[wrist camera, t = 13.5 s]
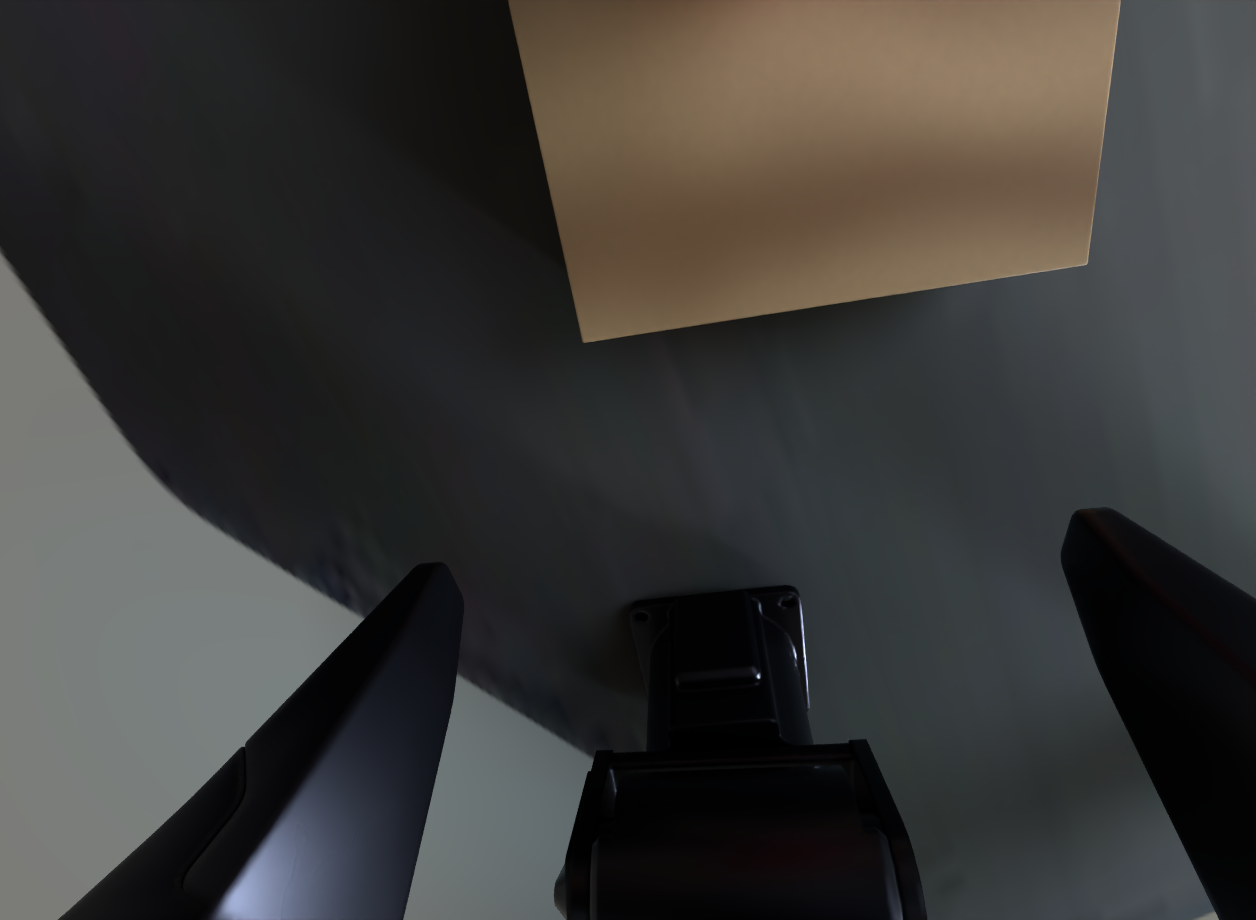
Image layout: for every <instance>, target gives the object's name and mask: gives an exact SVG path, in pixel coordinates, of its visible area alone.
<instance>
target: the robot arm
mask: <svg viewBox="0 0 1256 920" xmlns="http://www.w3.org/2000/svg"><path fill="white" fill-rule="evenodd" d="M1061 563H1062V568H1063V571H1064V574H1065V577H1066V579H1067V582H1068V585H1069V588H1070V591H1071V594H1072V597H1073V600H1074V603H1075V606H1076V608H1077V611H1078V614H1079V617H1080V620H1081V623H1082V626H1083V629H1084V632H1085V635H1086V637H1087V640H1088V643H1089V646H1090V649H1091V652H1092V655H1093V657H1094V660H1095V663H1096V665H1097V668H1098V670H1099V672H1100V674H1101V677H1102V679H1103V681H1104V683H1105V686H1106V688H1107V690H1108V692H1109V694H1110V696H1111V698H1112V700H1113V702H1114V704H1115V706H1116V708H1117V710H1118V712H1119V714H1120V716H1121V718H1122V721H1123V723H1124V725H1125V727H1126V729H1127V731H1128V733H1129V735H1130V737H1131V739H1132V741H1133V743H1134V745H1135V747H1136V749H1137V751H1138V753H1139V756H1140V758H1141V760H1142V762H1143V764H1144V766H1145V768H1146V770H1147V772H1148V774H1149V776H1150V778H1151V780H1152V782H1153V784H1154V786H1155V788H1156V791H1157V793H1158V795H1159V797H1160V799H1161V801H1162V803H1163V805H1164V807H1165V809H1166V811H1167V813H1168V815H1169V817H1170V819H1171V821H1172V823H1173V826H1174V828H1175V830H1176V832H1177V834H1178V836H1179V838H1180V840H1181V842H1182V844H1183V846H1184V848H1185V850H1186V852H1187V854H1188V856H1189V858H1190V861H1191V863H1192V865H1193V867H1194V869H1195V871H1196V873H1197V875H1198V877H1199V879H1200V881H1201V883H1202V885H1203V887H1204V889H1205V891H1206V893H1207V896H1208V898H1209V900H1210V902H1211V904H1212V906H1213V908H1214V910H1215V912H1216V914H1217V916H1218V918H1219V920H1256V599H1255V598H1254V597H1252V596H1251V595H1249V594H1247V593H1246V592H1244V591H1243V590H1241V589H1240V588H1238V587H1236V586H1235V585H1233V584H1232V583H1230V582H1228V581H1227V580H1225V579H1224V578H1222V577H1220V576H1219V575H1217V574H1216V573H1214V572H1213V571H1211V570H1209V569H1208V568H1206V567H1205V566H1203V565H1201V564H1200V563H1198V562H1197V561H1195V560H1194V559H1192V558H1190V557H1189V556H1187V555H1186V554H1184V553H1182V552H1181V551H1179V550H1178V549H1176V548H1174V547H1173V546H1171V545H1170V544H1168V543H1167V542H1165V541H1163V540H1162V539H1160V538H1159V537H1157V536H1155V535H1154V534H1152V533H1151V532H1149V531H1148V530H1146V529H1144V528H1143V527H1141V526H1140V525H1138V524H1136V523H1135V522H1133V521H1132V520H1130V519H1129V518H1127V517H1125V516H1124V515H1122V514H1121V513H1119V512H1117V511H1116V510H1114V509H1111V508H1107V507H1102V508H1090V509H1080V510H1077V511H1076V512H1075V513H1074V514H1073V515H1072V517H1071V520H1070V523H1069V527H1068V530H1067V533H1066V536H1065V539H1064V543H1063V546H1062V549H1061ZM786 597H789V598H792V599H790V600H788V601H782V599H783V598H786ZM640 612H644V613H646V614H647V615H639V614H637V613H640ZM463 615H464V600H463V596H462V594H461V592H460V590H459V588H458V586H457V584H456V582H455V580H454V578H453V576H452V574H451V572H450V570H449V568H448V566H447V565H446V564H445V563H443V562H434V563H422V564H419V565H417V566H416V567H415V568H413V569H412V571H411V572H410V573H409V574H408V575H407V576H406V577H405V578H404V579H403V580H402V581H401V582H400V583H399V584H398V585H397V586H396V587H395V588H394V589H393V590H392V591H391V592H390V593H389V594H388V595H387V596H386V597H385V599H384V600H383V601H382V602H381V603H380V604H379V605H378V606H377V607H376V608H375V609H374V610H373V611H372V612H371V613H370V614H369V615H368V616H367V617H366V618H365V619H364V620H363V621H362V622H361V623H360V624H359V625H358V627H357V628H356V629H355V630H354V631H353V632H352V633H351V634H350V635H349V636H348V637H347V638H346V639H345V640H344V641H343V642H342V643H341V644H340V645H339V646H338V647H337V648H336V649H335V650H334V651H333V652H332V653H331V655H330V656H329V657H328V658H327V659H326V660H325V661H324V662H323V663H322V664H321V665H320V666H319V667H318V668H317V669H316V670H315V671H314V672H313V673H312V674H311V675H310V676H309V678H307V679H306V680H305V682H304V683H303V684H302V685H301V686H300V687H299V688H298V689H297V690H296V691H295V692H294V693H293V694H292V695H291V696H290V697H289V698H288V699H287V700H286V701H285V702H284V703H283V704H282V705H281V706H280V707H279V709H278V710H277V711H276V712H275V713H274V714H273V715H272V716H271V717H270V718H269V719H268V720H267V721H266V722H265V723H264V724H263V725H262V726H261V727H260V728H259V729H258V730H257V731H256V732H255V733H254V735H252V736H251V738H250V739H249V740H248V741H247V742H246V744H245V747H241V748H240V749H239V750H238V751H237V752H236V753H235V754H234V755H233V756H232V757H231V758H230V759H229V760H228V761H227V762H226V763H225V764H224V765H223V766H222V768H220V770H218V772H217V773H215V774H214V775H213V776H212V777H211V778H210V779H209V781H207V782H206V783H205V784H204V785H203V786H202V787H201V789H199V790H198V791H197V792H196V793H195V795H194V796H192V797H191V798H190V799H189V800H188V801H187V802H186V803H185V804H184V805H183V806H182V807H181V808H180V809H179V810H178V811H177V812H176V813H175V814H173V815H172V816H171V817H170V818H169V819H168V820H167V821H166V822H165V823H164V824H163V825H162V826H161V827H160V828H159V829H157V831H155V832H154V833H153V834H152V835H151V836H150V837H149V838H148V839H147V840H146V841H144V842H143V843H142V844H141V845H140V846H139V847H138V848H137V849H136V850H135V851H133V852H132V853H131V854H130V855H129V856H128V857H127V858H126V859H125V860H124V861H122V862H121V863H120V864H119V865H118V866H117V867H116V868H115V869H114V870H113V871H111V872H110V873H109V874H108V875H107V876H106V877H105V878H104V879H103V880H102V881H100V882H99V883H98V884H97V885H96V886H95V887H94V888H93V889H92V890H91V891H89V892H88V893H87V894H86V895H85V896H84V897H83V898H82V899H81V900H79V901H78V902H77V903H76V904H75V905H74V906H73V907H72V908H71V909H70V910H69V911H67V912H66V913H65V914H64V915H63V916H61V917H60V918H59V919H58V920H403V918H404V914H405V910H406V905H407V901H408V897H409V892H410V887H411V883H412V879H413V875H414V870H415V866H416V861H417V857H418V853H419V848H420V844H421V840H422V836H423V831H424V827H425V823H426V818H427V814H428V810H429V805H430V801H431V797H432V792H433V788H434V783H435V779H436V774H437V771H438V766H439V762H440V757H441V753H442V749H443V744H444V740H445V736H446V731H447V727H448V723H449V718H450V714H451V708H452V704H453V699H454V692H455V684H456V676H457V667H458V658H459V649H460V641H461V632H462V623H463ZM629 621H630V625H631V630H632V634H633V638H634V643H635V647H636V651H637V656H638V660H639V664H640V669H641V673H642V677H643V682H644V686H645V690H646V695H647V699H648V722H647V747H646V752H622V753H613V750H597V751H596V754H595V757H594V761H593V765H592V769H591V771H588V773H587V777H586V781H585V785H584V789H583V792H582V796H581V800H580V804H579V808H578V812H577V815H576V819H575V823H574V827H573V831H572V835H571V839H570V842H569V846H568V850H567V854H566V859H565V864H564V866H563V868H562V870H561V873H560V874H559V877H558V878H557V880H556V883H555V889H554V902H555V906H556V907H557V909H558V910H559V911H560V913H561V914H562V915H563V916H564V918H565V919H566V920H927V914H926V908H925V902H924V896H923V890H922V886H921V881H920V876H919V872H918V868H917V864H916V860H915V856H914V852H913V849H912V846H911V842H910V839H909V836H908V833H907V831H906V828H905V826H904V823H903V821H902V818H901V816H900V814H899V812H898V809H897V807H896V805H895V803H894V800H893V798H892V796H891V794H890V791H889V789H888V787H887V785H886V782H885V780H884V778H883V776H882V773H881V771H880V769H879V767H878V764H877V762H876V760H875V757H874V755H873V753H872V751H871V748H870V746H869V744H868V742H867V740H866V739H859V740H849V741H848V743H840V744H816V745H814V744H813V739H812V735H811V730H810V725H809V720H808V716H807V711H808V710H809V706H810V705H809V693H808V680H807V668H806V656H805V643H804V631H803V618H802V606H801V599H800V595H799V592H798V590H797V589H796V588H795V587H792V586H788V585H784V586H774V587H764V588H755V589H745V590H735V591H726V592H716V593H706V594H697V595H687V596H678V597H668V598H658V599H649V600H640V601H636V602H634V603H633V604H632V605H631V606H630V609H629Z"/></svg>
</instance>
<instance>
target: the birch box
mask: <svg viewBox="0 0 1256 920" xmlns="http://www.w3.org/2000/svg"><path fill="white" fill-rule="evenodd" d="M1120 2H1121V0H508V3H509V8H510V12H511V17H512V21H513V26H514V30H515V35H516V40H517V44H518V49H519V53H520V58H521V63H522V67H523V72H524V76H525V81H526V85H527V90H528V95H529V99H530V104H531V108H532V113H533V117H534V122H535V127H536V131H537V136H538V140H539V145H540V150H541V154H542V159H543V163H544V168H545V172H546V177H547V182H548V186H549V191H550V195H551V200H552V204H553V209H554V214H555V218H556V223H557V227H558V232H559V237H560V241H561V246H562V250H563V255H564V259H565V264H566V269H567V273H568V278H569V282H570V287H571V291H572V296H573V301H574V305H575V310H576V314H577V319H578V324H579V328H580V333H581V337H582V341H583V343H587V342H593V341H599V340H606V339H612V338H619V337H625V336H632V335H638V334H644V333H651V332H657V331H664V330H670V329H677V328H683V327H690V326H696V325H702V324H709V323H715V322H722V321H728V320H735V319H741V318H747V317H754V316H760V315H767V314H773V313H780V312H786V311H792V310H799V309H805V308H812V307H818V306H825V305H831V304H838V303H844V302H850V301H857V300H863V299H870V298H876V297H883V296H889V295H895V294H902V293H908V292H915V291H921V290H928V289H934V288H940V287H947V286H953V285H960V284H966V283H973V282H979V281H985V280H992V279H998V278H1005V277H1011V276H1018V275H1024V274H1031V273H1037V272H1043V271H1050V270H1056V269H1063V268H1069V267H1076V266H1082V265H1086V264H1087V262H1088V255H1089V247H1090V239H1091V231H1092V223H1093V215H1094V207H1095V199H1096V191H1097V184H1098V176H1099V168H1100V160H1101V152H1102V144H1103V136H1104V128H1105V120H1106V113H1107V105H1108V97H1109V89H1110V81H1111V73H1112V65H1113V57H1114V49H1115V41H1116V34H1117V26H1118V18H1119V10H1120Z"/></svg>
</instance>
